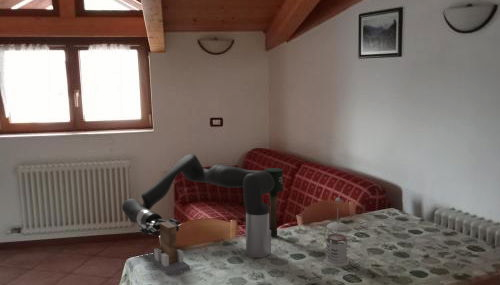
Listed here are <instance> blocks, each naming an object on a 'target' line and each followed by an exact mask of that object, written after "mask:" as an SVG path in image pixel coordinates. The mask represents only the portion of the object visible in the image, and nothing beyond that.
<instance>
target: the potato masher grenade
mask: <svg viewBox="0 0 500 285" xmlns="http://www.w3.org/2000/svg"><path fill="white" fill-rule="evenodd" d="M264 171H266V172H268V173H269V174H271V176H272V177H273V179H274V187H273V189H272V190H271V191H270V192H269V230H271V238H272V237H273V238H274V237H275V238H276V237H277V236H278V226H277V206H278V205H277V204H278V193H279V192H280V193H281V192H283V191H284V187H283V186H284V184H283V183H284V182H283V180H284V179H283V169H282V168H279V167H268V168H265V169H264Z"/></svg>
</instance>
